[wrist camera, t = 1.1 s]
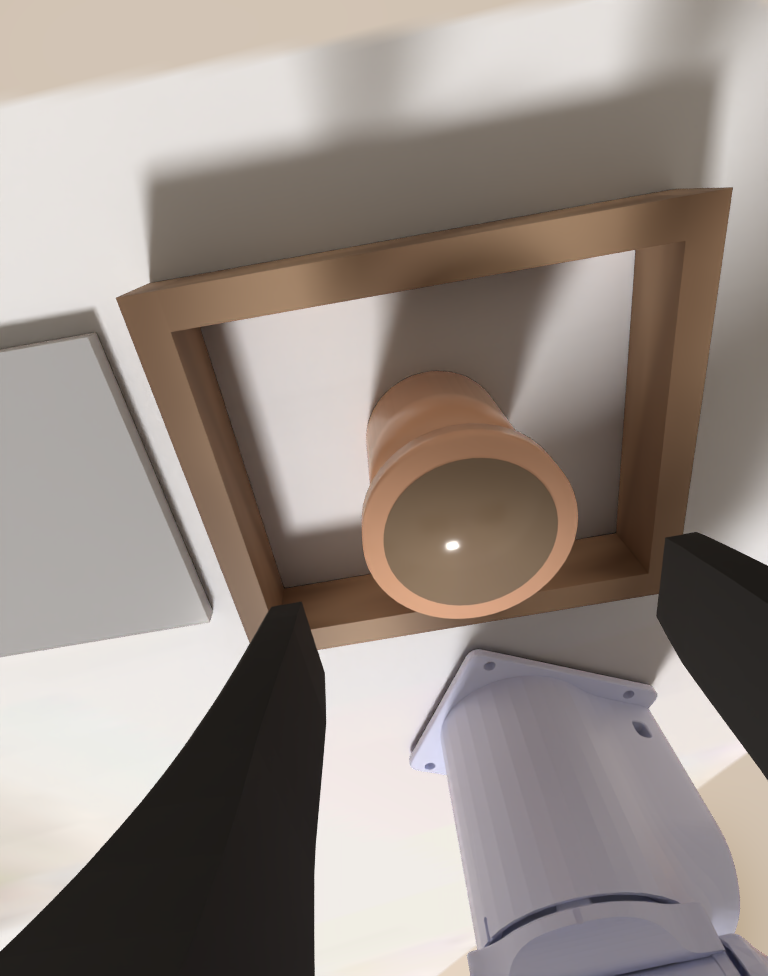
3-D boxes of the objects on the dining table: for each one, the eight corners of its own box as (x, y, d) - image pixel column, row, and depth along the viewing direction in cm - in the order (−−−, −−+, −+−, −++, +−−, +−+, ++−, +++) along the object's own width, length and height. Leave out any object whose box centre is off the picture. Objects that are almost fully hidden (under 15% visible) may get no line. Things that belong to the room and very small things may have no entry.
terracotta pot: (536, 389, 17) (619, 473, 12) (472, 518, 20) (520, 637, 14) (386, 339, 16) (406, 408, 11) (338, 482, 19) (335, 596, 13)
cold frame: (675, 189, 15) (733, 187, 13) (639, 549, 21) (674, 591, 19) (149, 283, 15) (115, 298, 13) (265, 612, 21) (256, 660, 19)
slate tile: (95, 332, 16) (87, 337, 15) (213, 611, 21) (209, 622, 20) (-265, 396, 16) (-285, 403, 15) (-57, 656, 21) (-68, 668, 21)
